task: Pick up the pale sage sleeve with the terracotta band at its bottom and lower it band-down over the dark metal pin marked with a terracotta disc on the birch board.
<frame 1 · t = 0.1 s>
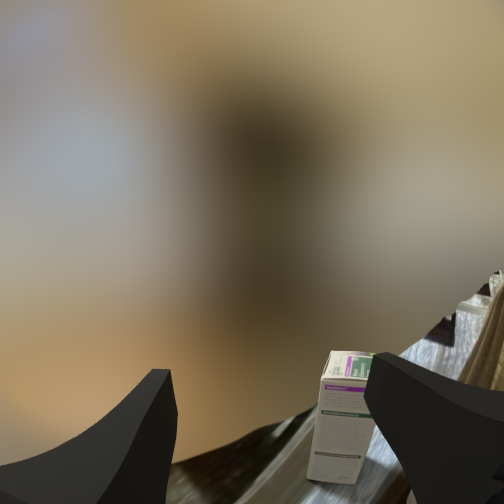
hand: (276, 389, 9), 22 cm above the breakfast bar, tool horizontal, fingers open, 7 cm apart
syrup box: (333, 467, 26), on the breakfast bar
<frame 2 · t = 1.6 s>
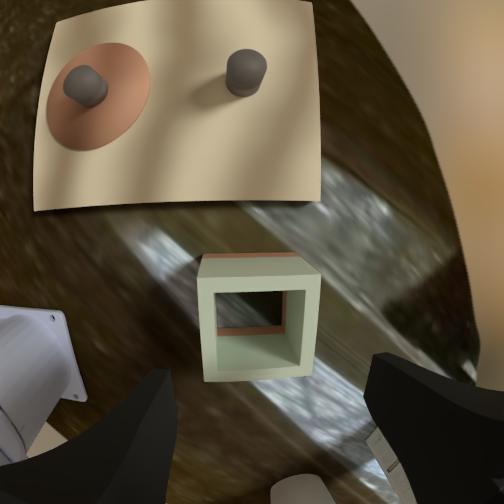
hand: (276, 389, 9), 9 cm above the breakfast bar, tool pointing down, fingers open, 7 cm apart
dixie cup: (296, 486, 24), on the breakfast bar
pin board: (167, 89, 15), on the breakfast bar
sleeve: (249, 296, 19), on the breakfast bar
syrup box: (397, 422, 23), on the breakfast bar
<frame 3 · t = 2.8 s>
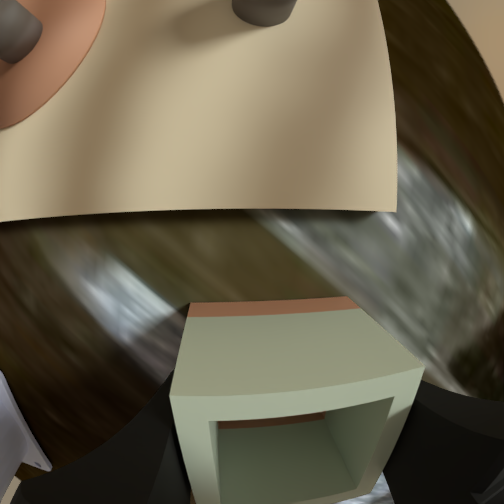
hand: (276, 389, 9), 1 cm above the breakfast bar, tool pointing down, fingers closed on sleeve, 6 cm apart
pin board: (134, 25, 8), on the breakfast bar
sleeve: (270, 367, 11), on the breakfast bar, touching gripper
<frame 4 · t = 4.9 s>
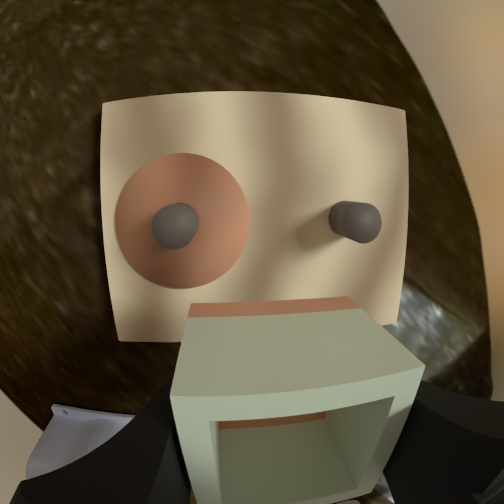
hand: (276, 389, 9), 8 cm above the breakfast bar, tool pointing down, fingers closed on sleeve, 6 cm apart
pin board: (263, 217, 17), on the breakfast bar
sleeve: (270, 367, 11), point 7 cm above the breakfast bar, touching gripper
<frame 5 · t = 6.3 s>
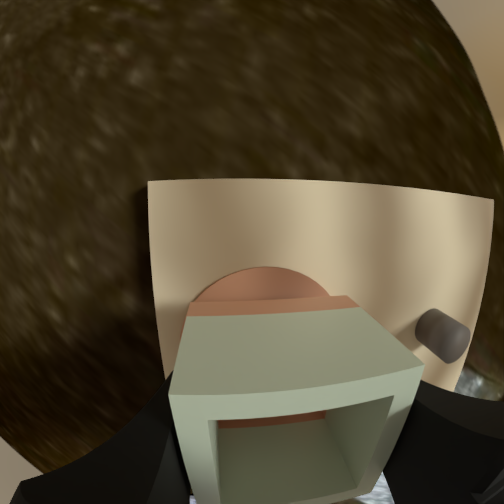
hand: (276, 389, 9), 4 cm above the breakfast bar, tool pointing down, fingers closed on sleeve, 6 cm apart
pin board: (349, 328, 14), on the breakfast bar
sleeve: (270, 366, 11), point 3 cm above the breakfast bar, touching gripper
when the fingers open (3 cm above the breakfast bar, at t = 7.1 s): sleeve stays where it is, resting on pin board.
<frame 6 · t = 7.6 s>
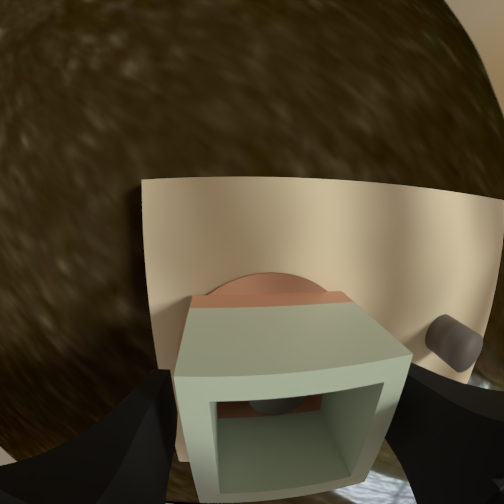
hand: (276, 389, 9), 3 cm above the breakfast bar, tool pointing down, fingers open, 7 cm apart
pin board: (357, 336, 13), on the breakfast bar
sleeve: (267, 359, 11), point 1 cm above the breakfast bar, touching pin board
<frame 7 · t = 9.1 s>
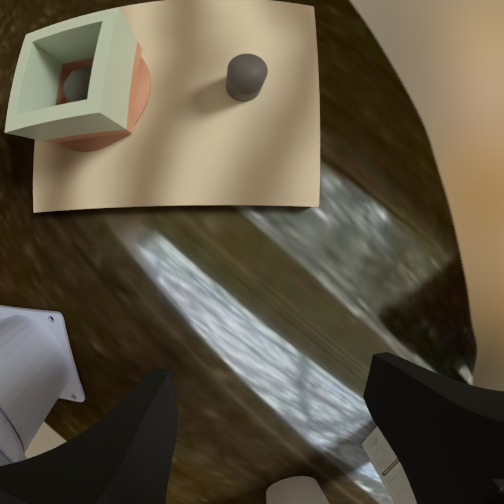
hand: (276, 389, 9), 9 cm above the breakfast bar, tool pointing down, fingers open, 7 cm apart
dixie cup: (291, 487, 24), on the breakfast bar
pin board: (168, 92, 15), on the breakfast bar
sleeve: (94, 94, 14), point 1 cm above the breakfast bar, touching pin board
syrup box: (393, 426, 23), on the breakfast bar
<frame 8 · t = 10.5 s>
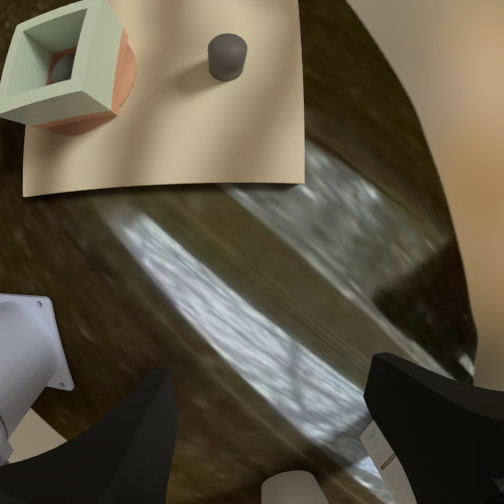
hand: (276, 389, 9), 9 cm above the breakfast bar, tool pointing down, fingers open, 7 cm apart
dixie cup: (287, 483, 24), on the breakfast bar
pin board: (153, 76, 15), on the breakfast bar
sleeve: (81, 80, 13), point 1 cm above the breakfast bar, touching pin board
syrup box: (392, 418, 23), on the breakfast bar
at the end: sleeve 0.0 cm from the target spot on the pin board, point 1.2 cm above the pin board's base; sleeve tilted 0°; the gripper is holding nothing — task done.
